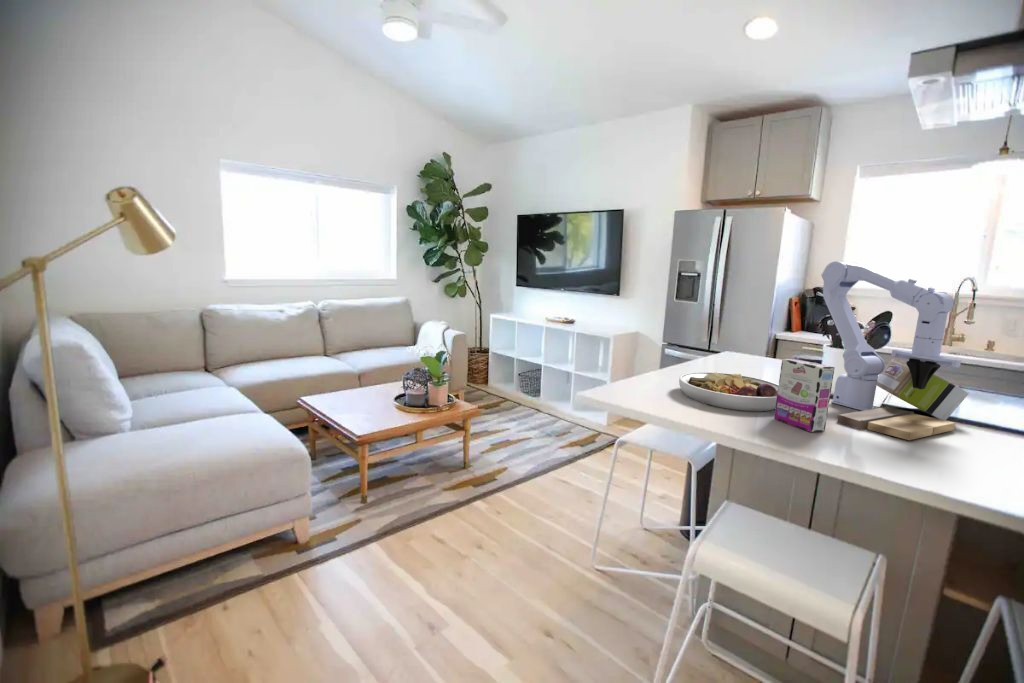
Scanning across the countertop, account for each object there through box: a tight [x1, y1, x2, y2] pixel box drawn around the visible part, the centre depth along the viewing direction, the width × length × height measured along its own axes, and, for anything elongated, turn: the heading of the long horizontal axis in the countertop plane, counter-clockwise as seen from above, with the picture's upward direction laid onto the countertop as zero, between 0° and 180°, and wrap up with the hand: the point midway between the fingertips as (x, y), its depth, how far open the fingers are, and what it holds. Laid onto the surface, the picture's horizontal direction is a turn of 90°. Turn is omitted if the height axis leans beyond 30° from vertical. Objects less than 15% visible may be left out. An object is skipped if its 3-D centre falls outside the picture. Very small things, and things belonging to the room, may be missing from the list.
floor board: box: [836, 405, 914, 430], centre depth 129 cm, size 6×24×2 cm, turn 116°
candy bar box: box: [773, 358, 836, 433], centre depth 122 cm, size 11×5×16 cm, turn 21°
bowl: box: [678, 371, 779, 412], centre depth 145 cm, size 30×30×8 cm
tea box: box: [876, 357, 970, 421], centre depth 138 cm, size 15×10×15 cm
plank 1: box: [867, 418, 933, 441], centre depth 120 cm, size 9×11×2 cm
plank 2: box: [893, 413, 956, 436], centre depth 125 cm, size 9×11×2 cm
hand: (918, 388), depth 129 cm, fingers closed
